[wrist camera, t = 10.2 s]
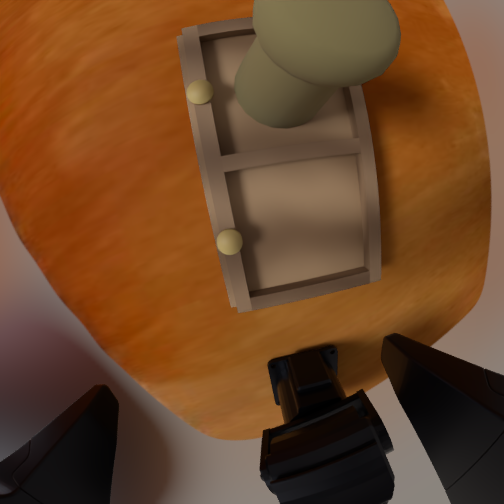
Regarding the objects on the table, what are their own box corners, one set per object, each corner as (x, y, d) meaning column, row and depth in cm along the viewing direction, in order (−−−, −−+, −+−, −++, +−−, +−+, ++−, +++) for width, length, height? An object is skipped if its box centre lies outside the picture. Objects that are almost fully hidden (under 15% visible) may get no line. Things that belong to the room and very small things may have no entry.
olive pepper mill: (316, 48, 14) (397, -36, 4) (330, 126, 16) (444, 97, 6) (228, 51, 14) (231, -60, 4) (240, 133, 16) (257, 83, 6)
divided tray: (373, 268, 21) (388, 280, 19) (230, 299, 21) (231, 317, 18) (337, 29, 15) (349, 15, 12) (179, 43, 14) (173, 28, 12)
